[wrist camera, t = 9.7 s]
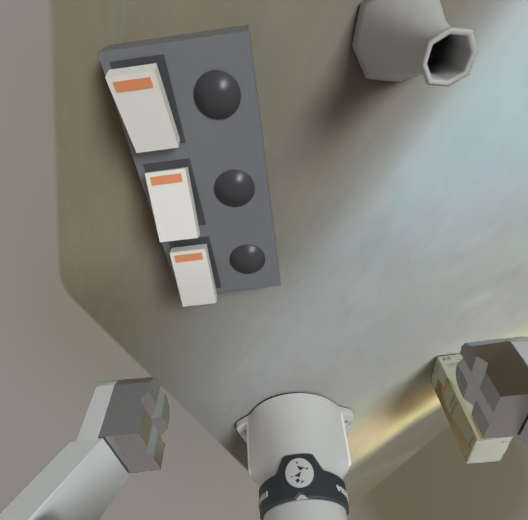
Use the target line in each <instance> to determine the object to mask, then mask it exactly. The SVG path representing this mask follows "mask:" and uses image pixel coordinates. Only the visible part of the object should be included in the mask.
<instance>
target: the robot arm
mask: <svg viewBox="0 0 528 520" xmlns="http://www.w3.org/2000/svg"><path fill="white" fill-rule="evenodd" d="M460 353H461V355H462V357H463V359H462V360H461V361H459V362H458V363H457V367H456V381H457V384H458V387H459V390H460V392H461V394H462V397H463V399H465V400H466V401H468V402H469V403H470V404H472V405H473V410H472V413H471V415H472V417H473V419H474V421H475V423H476V425H477V427H478V429H479V431H480V433H481V435H482V437H483V438H484V439H486V438H501V437H515V436H519V439H520V440H521V441H522V442H524V443H525V444H526V445H527V446H528V338H527V337H515V338H507V339H503V338H502V339H494V340H486V341H477V342H469V343H465V344H464V345H463V346H462V348H461V351H460ZM160 385H161V384H160V382H159V380H158V378H157V377H150V378H138V379H126V380H114V381H105V382H100V383H99V384H98V385H97V387H96V388H95V391H94V394H93V396H92V399H91V402H90V404H89V407H88V410H87V413H86V416H85V418H84V421H83V424H82V427H81V429H80V432H79V435H78V438H77V440H76V441H71V442H70V443H69V444H68V445H67V446H66V447H65V448H64V449H63V450H62V451H61V452H60V453H59V454H58V455H57V456H56V457H55V458H54V459H53V460H52V461H51V462H50V463H49V464H48V466H46V467H45V468H44V470H42V471H41V473H40V474H39V475H38V476H37V477H36V478H35V479H34V480H33V481H32V482H31V483H30V484H29V485H28V486H27V487H26V488H25V489H24V490H23V491H22V492H21V493H20V494H19V495H18V496H17V497H16V498H15V499H14V500H13V501H12V503H10V504H9V505H8V506H7V507H6V508H5V510H3V512H2V513H1V514H0V520H99V519H100V517H101V516H102V515H103V513H104V512H105V510H106V509H107V507H108V506H109V504H110V503H111V502H112V500H113V499H114V497H115V496H116V494H117V493H118V491H119V490H120V488H121V487H122V486H123V484H124V483H125V481H126V479H127V478H128V477H129V473H137V472H144V471H152V470H160V469H161V464H162V458H163V453H164V447H165V444H164V442H163V440H162V438H161V436H162V435H163V434H164V432H165V431H166V430H167V429H168V424H169V403H168V400H167V397H166V395H165V394H164V393H163V392H161V391H159V390H160ZM353 420H354V413H353V411H352V410H350V409H347V408H343V407H339V406H337V405H336V404H334V403H333V402H332V401H330V400H328V399H326V398H324V397H321V396H318V395H314V394H307V393H292V394H285V395H280V396H276V397H273V398H271V399H268V400H266V401H264V402H262V403H261V404H260V405H258V406H257V407H256V408H255V409H254V410H253V411H252V412H251V414H250V415H248V416H246V417H244V418H242V419H241V420H239V421H238V422H237V423H236V427H237V431H238V432H239V434H240V435H241V437H242V438H243V440H244V441H245V442H246V444H247V449H248V471H249V475H251V476H252V478H253V480H254V481H255V482H257V483H258V485H259V486H260V489H259V509H260V519H261V520H348V519H347V515H348V513H349V506H348V495H347V492H346V488H345V483H344V481H343V478H344V476H345V474H346V473H347V472H349V467H350V466H351V459H350V453H349V447H348V442H347V436H348V433H349V430H350V428H351V425H352V423H353Z"/></svg>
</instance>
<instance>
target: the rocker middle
mask: <svg viewBox="0 0 528 520" xmlns="http://www.w3.org/2000/svg"><path fill="white" fill-rule="evenodd" d="M145 177H146V182H147V186H148V191H149V195H150V200H151V204H152V209H153V213H154V218H155V223H156V227H157V232H158V236H159V241H160V242H168V241H176V240H184V239H193V238H198V237H199V235H200V230H199V225H198V220H197V214H196V209H195V203H194V198H193V192H192V187H191V181H190V176H189V171H188V167H182V168H174V169H167V170H159V171H151V172H147V173H145Z"/></svg>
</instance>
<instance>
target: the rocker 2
mask: <svg viewBox="0 0 528 520" xmlns="http://www.w3.org/2000/svg"><path fill="white" fill-rule="evenodd" d="M170 257H171V261H172V265H173V269H174V273H175V277H176V281H177V285H178V289H179V293H180V297H181V301H182V305H183V307H185V306H193V305H202V304H211V303H216V302H217V292H216V287H215V282H214V278H213V273H212V268H211V263H210V258H209V253H208V248H207V244H199V245H191V246H183V247H175V248H172V249H171V251H170Z"/></svg>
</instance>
